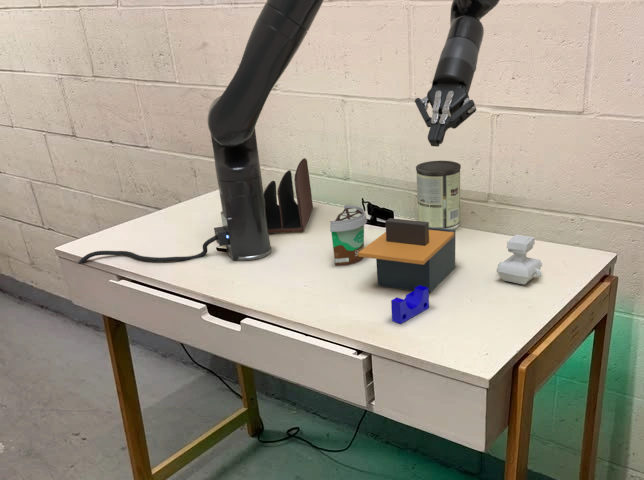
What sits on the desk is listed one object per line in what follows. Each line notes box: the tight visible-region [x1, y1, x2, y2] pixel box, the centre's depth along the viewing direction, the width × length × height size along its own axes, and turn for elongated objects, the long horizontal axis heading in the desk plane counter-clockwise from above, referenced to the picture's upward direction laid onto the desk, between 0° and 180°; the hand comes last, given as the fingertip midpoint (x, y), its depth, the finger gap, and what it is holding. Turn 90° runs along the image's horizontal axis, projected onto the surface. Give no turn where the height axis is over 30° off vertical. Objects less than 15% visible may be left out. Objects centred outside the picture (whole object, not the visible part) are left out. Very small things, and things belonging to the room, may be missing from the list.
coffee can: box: [415, 160, 462, 230], centre depth 163 cm, size 10×10×14 cm
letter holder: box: [263, 157, 314, 234], centre depth 172 cm, size 10×20×14 cm, turn 179°
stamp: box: [496, 234, 543, 286], centre depth 133 cm, size 9×7×8 cm
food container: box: [329, 204, 368, 267], centre depth 147 cm, size 12×6×10 cm, turn 168°
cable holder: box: [390, 285, 430, 325], centre depth 123 cm, size 8×4×4 cm, turn 139°
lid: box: [358, 217, 454, 265], centre depth 131 cm, size 16×13×5 cm
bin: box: [375, 227, 456, 294], centre depth 137 cm, size 14×11×8 cm
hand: (433, 144), depth 136 cm, fingers closed
